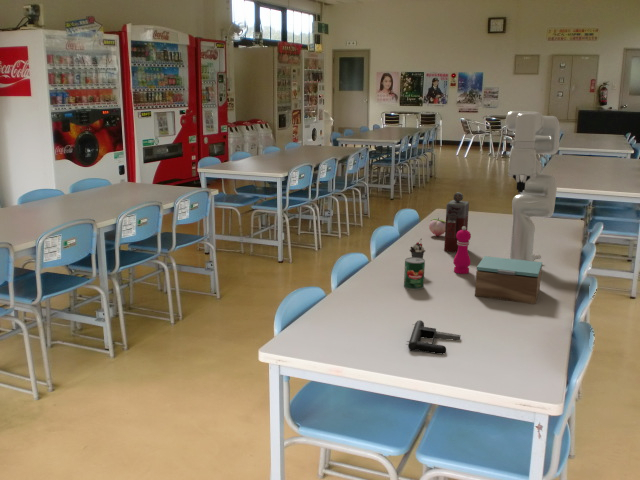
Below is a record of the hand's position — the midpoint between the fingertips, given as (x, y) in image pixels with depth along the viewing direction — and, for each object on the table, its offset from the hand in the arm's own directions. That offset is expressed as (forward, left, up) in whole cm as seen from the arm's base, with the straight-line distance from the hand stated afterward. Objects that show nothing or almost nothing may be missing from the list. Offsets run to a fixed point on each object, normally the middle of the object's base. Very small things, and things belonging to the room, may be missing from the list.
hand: (520, 191), depth 254 cm
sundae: (+32, -23, -37) cm, 54 cm away
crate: (+12, +12, -37) cm, 41 cm away
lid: (+12, +12, -27) cm, 32 cm away
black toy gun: (+64, +42, -37) cm, 85 cm away
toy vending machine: (-4, -49, -37) cm, 62 cm away
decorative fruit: (-12, -77, -37) cm, 86 cm away
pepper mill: (+13, -18, -37) cm, 43 cm away
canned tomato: (+42, -8, -37) cm, 57 cm away
